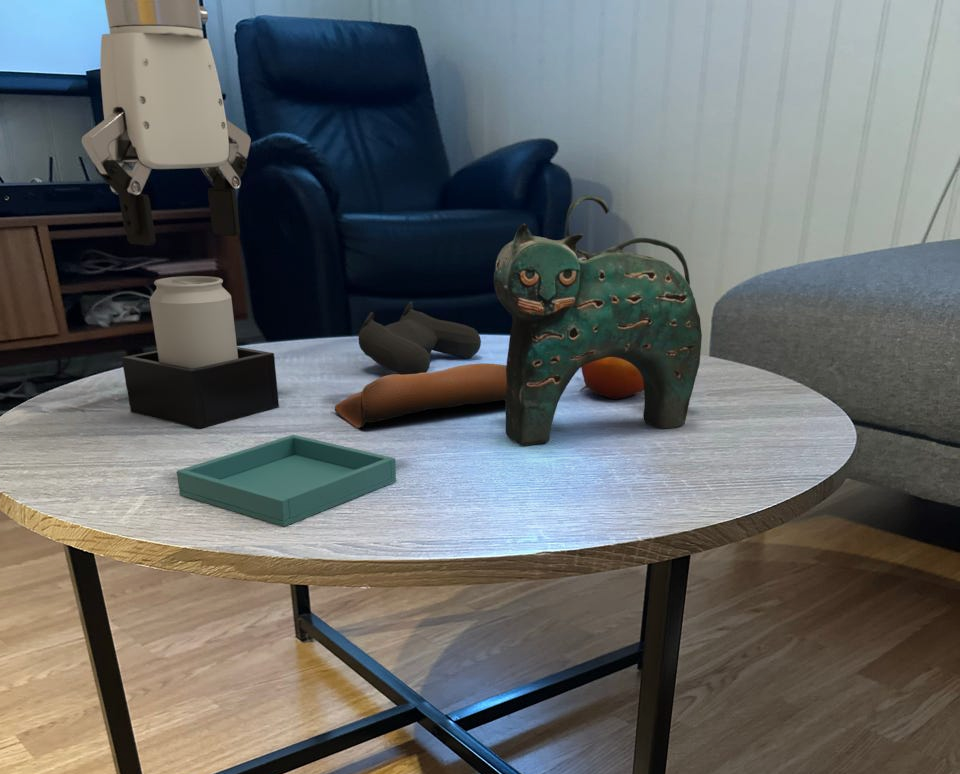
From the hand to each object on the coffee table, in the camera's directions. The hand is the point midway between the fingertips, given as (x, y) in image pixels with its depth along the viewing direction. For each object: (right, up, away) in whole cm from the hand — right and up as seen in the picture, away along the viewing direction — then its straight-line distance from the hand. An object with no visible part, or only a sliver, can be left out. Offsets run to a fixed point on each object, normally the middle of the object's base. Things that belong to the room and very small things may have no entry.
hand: (186, 239), depth 86 cm
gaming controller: (+20, -4, +26) cm, 33 cm away
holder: (0, -14, +7) cm, 16 cm away
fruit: (+41, -11, +14) cm, 45 cm away
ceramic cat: (+37, -18, +1) cm, 41 cm away
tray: (+12, -25, -14) cm, 31 cm away
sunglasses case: (+22, -14, +7) cm, 27 cm away
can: (0, -14, +7) cm, 16 cm away
